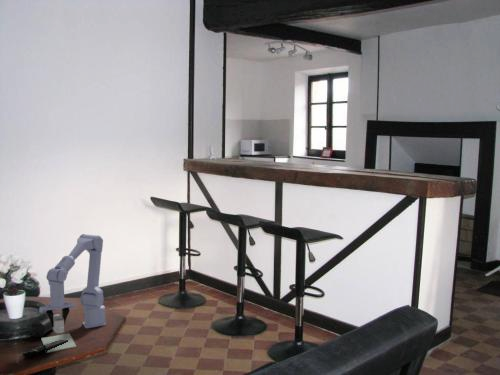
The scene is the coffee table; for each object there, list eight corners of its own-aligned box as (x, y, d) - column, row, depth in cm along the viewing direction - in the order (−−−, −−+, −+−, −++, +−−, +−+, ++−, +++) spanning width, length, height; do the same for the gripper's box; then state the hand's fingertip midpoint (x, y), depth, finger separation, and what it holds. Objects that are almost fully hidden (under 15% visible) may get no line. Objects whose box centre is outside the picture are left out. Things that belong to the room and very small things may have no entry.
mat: (69, 334, 232) (69, 333, 232) (76, 347, 218) (76, 346, 218) (41, 339, 226) (41, 338, 226) (46, 352, 212) (46, 351, 212)
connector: (61, 324, 226) (60, 313, 226) (66, 334, 216) (65, 323, 215) (51, 326, 224) (51, 315, 224) (56, 336, 214) (56, 324, 213)
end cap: (45, 338, 228) (45, 323, 227) (31, 336, 229) (30, 322, 228) (57, 329, 237) (57, 315, 237) (43, 328, 238) (43, 314, 238)
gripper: (40, 300, 213) (41, 331, 214) (76, 295, 220) (77, 325, 221) (38, 296, 219) (39, 326, 220) (73, 291, 226) (73, 320, 227)
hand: (58, 325), depth 221 cm, fingers closed on connector, 4 cm apart
